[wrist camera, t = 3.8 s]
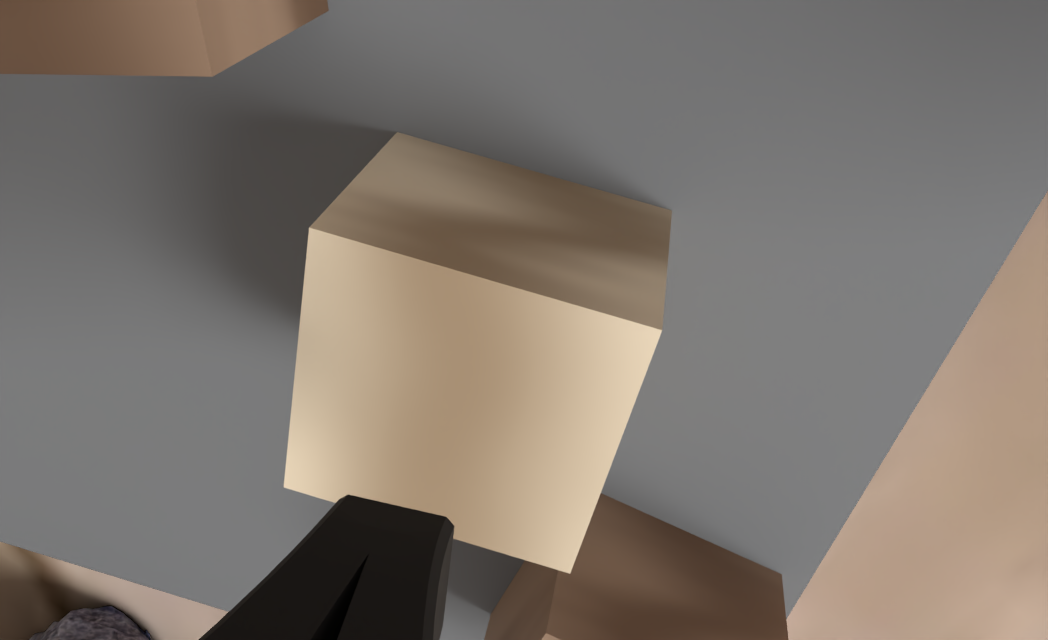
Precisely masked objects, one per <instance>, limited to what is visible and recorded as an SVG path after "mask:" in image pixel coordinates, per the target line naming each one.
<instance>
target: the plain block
mask: <svg viewBox="0 0 1048 640" xmlns="http://www.w3.org/2000/svg"><path fill="white" fill-rule="evenodd" d="M671 218H672V211H671V210H668V209H664V208H661V207H657V206H654V205H651V204H647V203H644V202H640V201H637V200H633V199H630V198H626V197H623V196H619V195H616V194H612V193H609V192H605V191H602V190H598V189H595V188H591V187H588V186H584V185H581V184H577V183H574V182H570V181H567V180H563V179H560V178H556V177H553V176H549V175H546V174H542V173H539V172H535V171H532V170H528V169H525V168H521V167H518V166H514V165H511V164H507V163H504V162H500V161H497V160H493V159H490V158H486V157H483V156H479V155H476V154H472V153H469V152H465V151H462V150H458V149H455V148H451V147H448V146H444V145H441V144H437V143H434V142H430V141H427V140H423V139H420V138H416V137H413V136H409V135H406V134H402V133H399V132H397V133H396V134H395V135H394V136H393V137H392V138H391V139H390V140H389V141H388V143H387V144H386V145H385V146H384V147H383V148H382V149H381V150H380V151H379V152H378V153H377V154H376V156H375V157H374V158H373V159H372V160H371V161H370V162H369V163H368V164H367V165H366V166H365V167H364V169H363V170H362V171H361V172H360V173H359V174H358V175H357V176H356V177H355V178H354V179H353V181H352V182H351V183H350V184H349V185H348V186H347V187H346V188H345V189H344V190H343V191H342V192H341V194H340V195H339V196H338V197H337V198H336V199H335V200H334V201H333V202H332V203H331V204H330V205H329V207H328V208H327V209H326V210H325V211H324V212H323V213H322V214H321V215H320V216H319V217H318V218H317V220H316V221H315V222H314V223H313V224H312V225H311V226H310V227H309V234H308V244H307V254H306V264H305V274H304V285H303V295H302V305H301V315H300V325H299V335H298V346H297V356H296V366H295V376H294V386H293V397H292V407H291V417H290V427H289V437H288V448H287V458H286V468H285V478H284V488H287V489H291V490H294V491H297V492H301V493H304V494H307V495H310V496H314V497H317V498H320V499H324V500H327V501H330V502H334V503H336V502H337V501H338V500H339V499H341V498H342V497H344V496H346V495H348V494H349V495H353V496H357V497H362V498H366V499H371V500H375V501H379V502H384V503H388V504H393V505H397V506H401V507H406V508H410V509H415V510H419V511H423V512H428V513H432V514H437V515H441V516H445V517H447V518H448V519H449V520H450V521H451V523H452V524H453V525H454V535H453V539H457V540H460V541H463V542H466V543H470V544H473V545H476V546H480V547H483V548H486V549H490V550H493V551H496V552H500V553H503V554H506V555H510V556H513V557H516V558H520V559H523V560H526V561H530V562H533V563H536V564H539V565H543V566H546V567H549V568H553V569H556V570H559V571H563V572H566V573H569V574H570V573H571V570H572V568H573V565H574V562H575V560H576V557H577V554H578V552H579V549H580V546H581V544H582V541H583V539H584V536H585V533H586V531H587V528H588V525H589V523H590V520H591V517H592V515H593V512H594V509H595V507H596V504H597V502H598V499H599V496H600V494H601V491H602V488H603V486H604V483H605V480H606V478H607V475H608V472H609V470H610V467H611V465H612V462H613V459H614V457H615V454H616V451H617V449H618V446H619V443H620V441H621V438H622V435H623V433H624V430H625V428H626V425H627V422H628V420H629V417H630V414H631V412H632V409H633V406H634V404H635V401H636V398H637V396H638V393H639V391H640V388H641V385H642V383H643V380H644V377H645V375H646V372H647V369H648V367H649V364H650V361H651V359H652V356H653V354H654V351H655V348H656V346H657V343H658V340H659V338H660V335H661V332H662V328H663V315H664V303H665V291H666V279H667V266H668V254H669V242H670V230H671Z"/></svg>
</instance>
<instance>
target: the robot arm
mask: <svg viewBox="0 0 1048 640" xmlns="http://www.w3.org/2000/svg"><path fill="white" fill-rule="evenodd" d="M453 535H454V525H453V524H452V523H451V521H450V520H449V519H448V518H447V517H445V516H441V515H437V514H432V513H428V512H423V511H419V510H415V509H410V508H406V507H401V506H397V505H393V504H388V503H384V502H379V501H375V500H371V499H366V498H362V497H357V496H353V495H349V494H348V495H346V496H344V497H342V498H341V499H339V500H338V501H337V502H336V503H335V504H334V506H333V507H332V508H331V509H330V510H329V511H328V512H327V513H326V515H325V516H324V517H323V518H322V519H321V520H320V521H319V522H318V523H317V524H316V525H315V527H314V528H313V529H312V530H311V531H310V532H309V533H308V534H307V535H306V536H305V537H304V538H303V539H302V540H301V542H300V543H299V544H298V545H297V546H296V547H295V548H294V549H293V550H292V551H291V552H290V553H289V554H288V555H287V556H286V557H285V558H284V559H283V560H282V561H281V562H280V563H279V564H278V565H277V566H276V567H275V568H274V569H273V570H272V571H271V572H270V573H269V574H268V575H267V576H266V577H265V578H264V579H263V580H262V581H261V582H260V583H259V584H258V585H257V586H256V587H255V588H254V589H253V590H251V591H250V592H249V593H248V594H247V595H246V596H245V597H244V598H243V599H242V600H241V601H240V602H239V603H238V604H237V605H236V606H235V607H234V608H232V609H231V610H230V611H229V612H228V613H227V614H226V615H225V616H224V617H223V618H222V619H221V620H220V621H219V622H218V623H217V624H216V625H214V626H213V627H212V628H211V629H210V630H209V631H208V632H207V633H206V634H204V635H203V636H202V637H201V638H200V639H199V640H439V639H440V635H441V631H442V627H443V621H444V612H445V604H446V595H447V586H448V578H449V569H450V561H451V552H452V544H453Z"/></svg>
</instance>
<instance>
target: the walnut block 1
mask: <svg viewBox="0 0 1048 640" xmlns="http://www.w3.org/2000/svg"><path fill="white" fill-rule="evenodd" d="M327 11H329V9H328V2H327V0H0V74H46V75H123V76H201V77H213V76H215V75H216V74H218V73H220V72H222V71H223V70H225V69H227V68H229V67H230V66H232V65H234V64H236V63H237V62H239V61H241V60H243V59H245V58H246V57H248V56H250V55H252V54H253V53H255V52H257V51H259V50H260V49H262V48H264V47H266V46H267V45H269V44H271V43H273V42H275V41H276V40H278V39H280V38H282V37H283V36H285V35H287V34H289V33H290V32H292V31H294V30H296V29H297V28H299V27H301V26H303V25H305V24H306V23H308V22H310V21H312V20H313V19H315V18H317V17H319V16H320V15H322V14H324V13H326V12H327Z"/></svg>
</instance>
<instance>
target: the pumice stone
mask: <svg viewBox="0 0 1048 640" xmlns="http://www.w3.org/2000/svg"><path fill="white" fill-rule="evenodd" d="M145 631H146V632H144V631H142V630H141V629H140V628H139V627H138V626H137V625H136V624H135V623H134V622H133V621H132V620H130V619H129V618H128V617H127V616H126V615H125V614H124V613H122V612H120V611H119V610H117V609H115V608H114V607H112V606H105V607H102V608H96V609H88V608H84V609H79V610H73V611H70V612H69V613H68V614H67V615H66V616H65V617H64V618H62V619H61V620H60V621H59V622H55V621H54V622H53V623H52V624H51V625H50V627H49V628H48V629H47V630H46V631H45V632H40V633H35V634H34V635H33V636H32V637H31V638H30V639H29V640H150V634H149V633H148V631H147V630H145Z"/></svg>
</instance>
